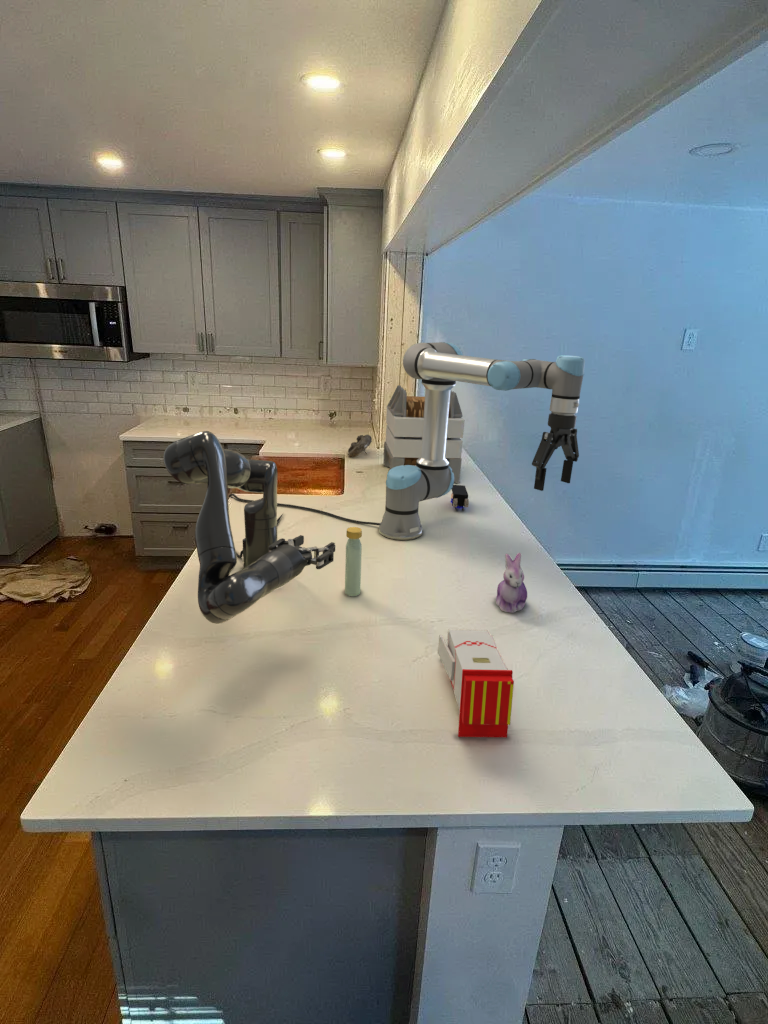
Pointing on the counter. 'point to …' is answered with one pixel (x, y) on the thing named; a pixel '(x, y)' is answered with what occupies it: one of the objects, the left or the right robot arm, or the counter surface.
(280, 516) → the feather
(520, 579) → the figurine
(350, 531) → the cap
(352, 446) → the fossil
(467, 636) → the toy
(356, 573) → the bottle
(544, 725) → the counter surface
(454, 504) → the figurine character
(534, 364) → the right robot arm
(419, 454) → the transformer
